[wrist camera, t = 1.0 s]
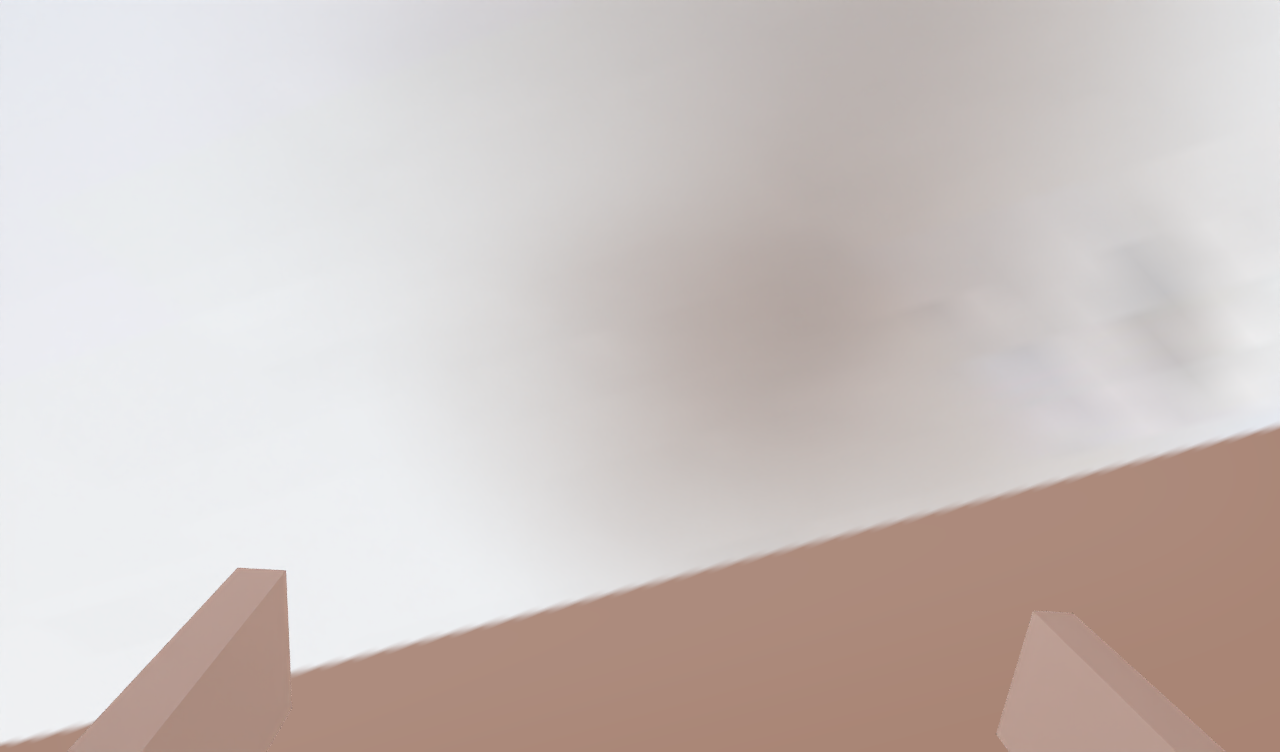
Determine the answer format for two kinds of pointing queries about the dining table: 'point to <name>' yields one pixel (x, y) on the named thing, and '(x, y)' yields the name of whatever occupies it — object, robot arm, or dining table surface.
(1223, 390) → the dining table surface
